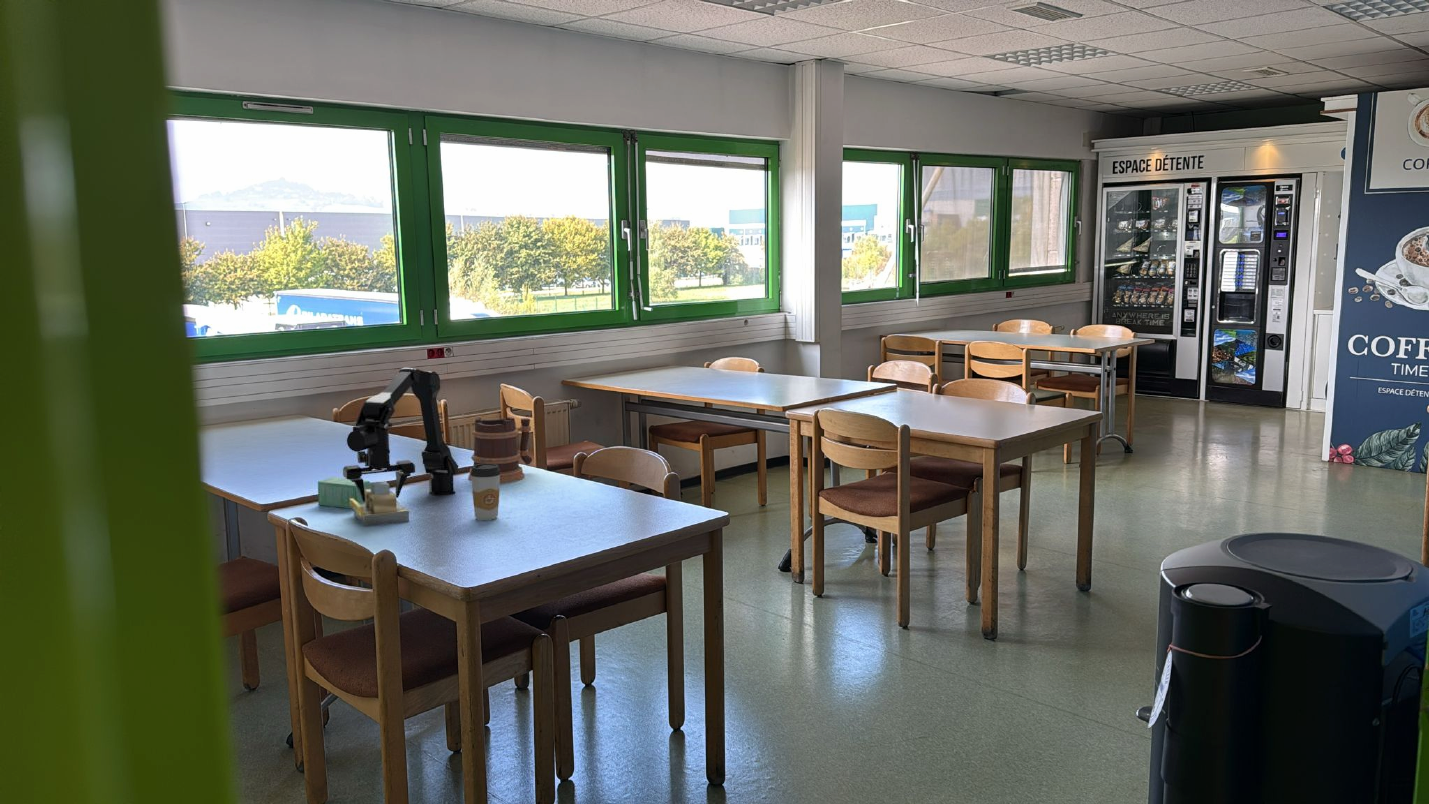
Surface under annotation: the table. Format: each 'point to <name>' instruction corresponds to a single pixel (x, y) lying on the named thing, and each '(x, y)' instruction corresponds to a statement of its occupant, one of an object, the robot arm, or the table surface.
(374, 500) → the tan stepped block
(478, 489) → the coffee cup
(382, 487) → the grey blue block
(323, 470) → the table surface
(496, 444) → the mug
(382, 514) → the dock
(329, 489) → the box
